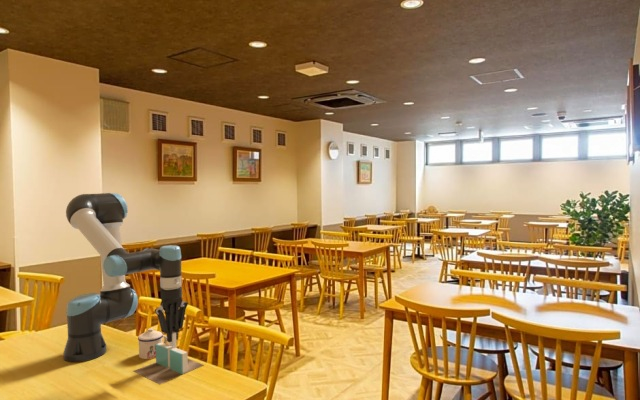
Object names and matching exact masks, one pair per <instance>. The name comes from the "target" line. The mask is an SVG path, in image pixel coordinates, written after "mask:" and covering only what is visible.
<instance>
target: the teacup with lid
mask: <svg viewBox="0 0 640 400" xmlns="http://www.w3.org/2000/svg"><path fill="white" fill-rule="evenodd" d="M163 339H164V342H163ZM137 340H138V357H139V358H140V359H144V360H151V359H156V344H158V343H161V342H162V343H165V344H167V345H168V341H167V335H164V333H163V332H162V331H159V330H158V331H157V330H154V329H153V328H152V327H150V328H148V329H147V330H146V331H145V332H143V333H140V334H139V335H138V338H137Z"/></svg>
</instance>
